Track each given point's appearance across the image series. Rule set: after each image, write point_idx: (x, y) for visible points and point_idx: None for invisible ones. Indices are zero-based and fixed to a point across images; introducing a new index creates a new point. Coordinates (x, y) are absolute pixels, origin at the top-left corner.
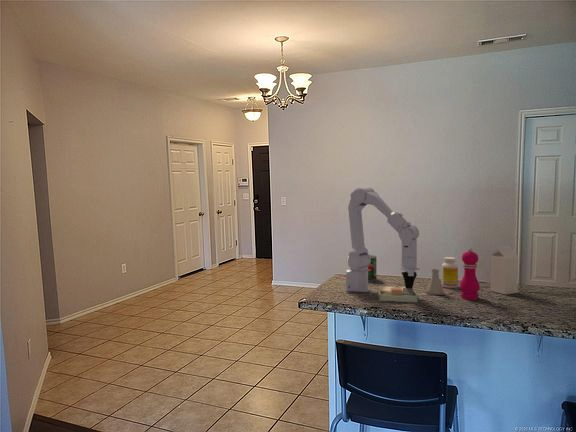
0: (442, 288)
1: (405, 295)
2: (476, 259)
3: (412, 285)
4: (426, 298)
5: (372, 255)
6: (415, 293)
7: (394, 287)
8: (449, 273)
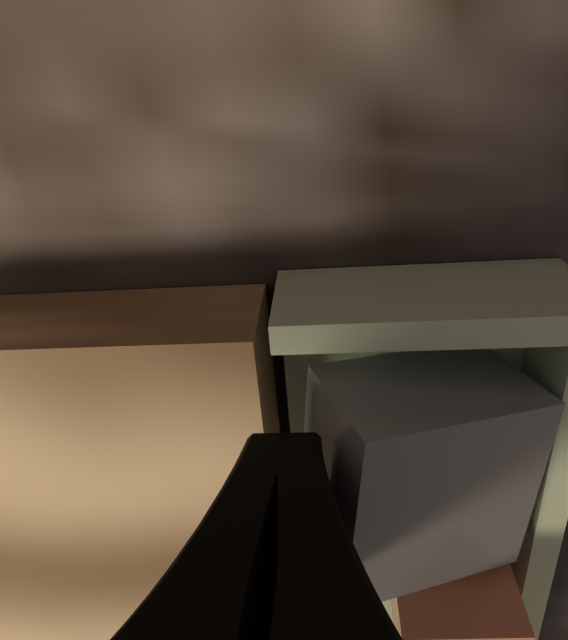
0: None
1: (555, 512)
2: None
3: (342, 522)
4: (234, 71)
5: None
6: (388, 348)
7: (31, 603)
8: None
